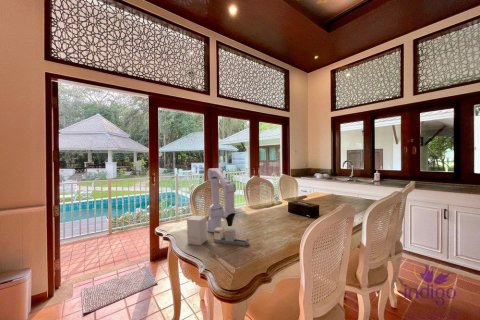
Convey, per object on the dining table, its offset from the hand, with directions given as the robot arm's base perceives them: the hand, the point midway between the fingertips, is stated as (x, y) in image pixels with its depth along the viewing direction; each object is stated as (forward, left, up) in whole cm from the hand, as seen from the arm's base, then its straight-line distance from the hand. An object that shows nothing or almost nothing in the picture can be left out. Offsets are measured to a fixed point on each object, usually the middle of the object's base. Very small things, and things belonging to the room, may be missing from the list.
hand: (229, 225), depth 125 cm
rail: (0, 0, -10) cm, 10 cm away
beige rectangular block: (-8, 0, -8) cm, 11 cm away
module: (0, 0, -8) cm, 8 cm away
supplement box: (-20, -4, -11) cm, 23 cm away
